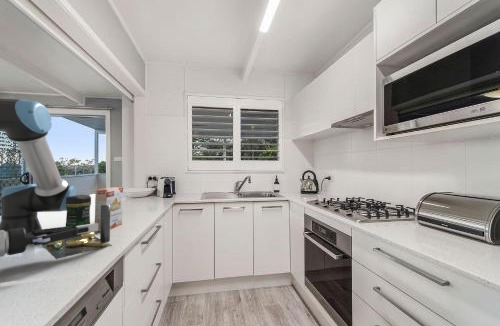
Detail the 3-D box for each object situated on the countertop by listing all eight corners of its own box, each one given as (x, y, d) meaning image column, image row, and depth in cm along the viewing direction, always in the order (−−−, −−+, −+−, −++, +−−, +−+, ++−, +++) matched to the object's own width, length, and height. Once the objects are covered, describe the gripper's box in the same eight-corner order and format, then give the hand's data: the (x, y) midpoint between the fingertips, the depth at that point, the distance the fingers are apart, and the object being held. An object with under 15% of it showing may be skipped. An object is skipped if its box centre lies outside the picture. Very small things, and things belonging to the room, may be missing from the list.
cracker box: (106, 233, 109) (107, 189, 110) (93, 233, 109) (94, 189, 110) (123, 226, 123) (123, 186, 124) (111, 226, 123) (112, 186, 124)
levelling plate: (41, 247, 90) (41, 239, 90) (92, 237, 104) (92, 230, 104) (56, 261, 77) (56, 252, 77) (112, 248, 90) (112, 240, 90)
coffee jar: (78, 238, 101) (79, 196, 102) (60, 238, 102) (61, 196, 102) (94, 232, 111) (94, 193, 111) (78, 232, 111) (78, 193, 112)
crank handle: (61, 246, 88) (62, 205, 88) (77, 240, 95) (78, 202, 95) (101, 248, 86) (102, 206, 86) (115, 242, 93) (115, 203, 93)
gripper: (2, 250, 72) (90, 233, 90) (9, 261, 64) (104, 240, 82) (3, 226, 72) (91, 214, 91) (9, 233, 64) (104, 219, 83)
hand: (97, 226), depth 87 cm, fingers closed
